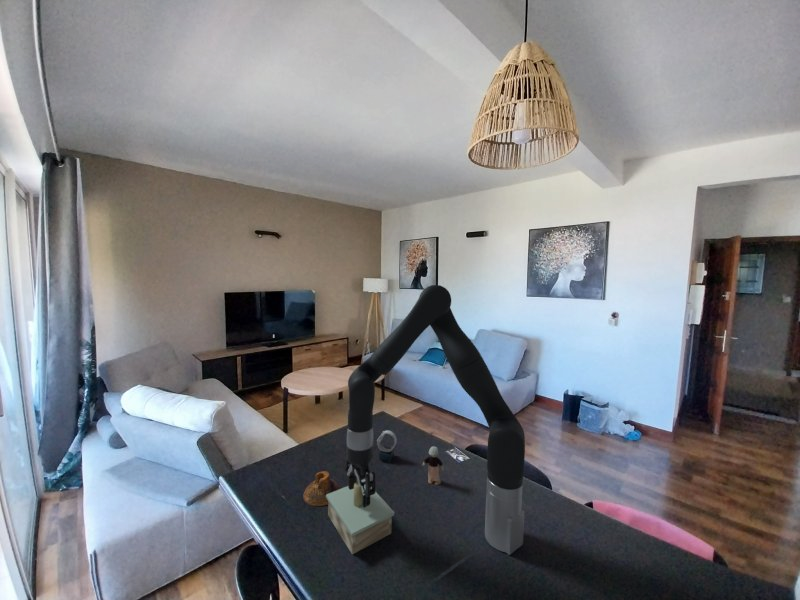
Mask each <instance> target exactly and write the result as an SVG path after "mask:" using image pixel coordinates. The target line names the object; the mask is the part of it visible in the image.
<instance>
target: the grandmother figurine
mask: <svg viewBox="0 0 800 600" xmlns="http://www.w3.org/2000/svg"><path fill="white" fill-rule="evenodd" d="M428 454H429V455H430V456H427V457H426V458H424V460H423V462H422V465H421V466H423V467H425V466H426V465H427V464H428V466H427V467H428V468H427V469H428V472H427V473H428V475H427V477H428V480H427V482H428V484H430V485H433V484H434V486H435V485H436V486H439V485H440V484H441V483H442V482H441V479H440V470H441V471H442V472H443V471H445V467H444V464H443V462H442V460H441V459H440V458H439V457H438V455H439V449H438V447H437V446H431V447H430V448H429V450H428Z"/></svg>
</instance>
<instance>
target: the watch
mask: <svg viewBox="0 0 800 600" xmlns="http://www.w3.org/2000/svg"><path fill="white" fill-rule="evenodd" d="M386 435H389V436H391V437H392V438H393V440H394V442H393V444H392V446H391V447H389V446H383V445H382V444H381V442H382V440H383V439H384V438H385V436H386ZM376 442H377V443H376V445H377V447H378V449H379V450H380V451H379V453H378V454H379V455H378V456H379V457H378V460H379V461H381V462H383V463H385V464H390V463H391V462H392V459H394V455H395V447H396V445H397V443H398V438H397V435H396V434H395V432H394V431H391V430H388V429H386V430H383V431H382V432H381V433H380V435H379V437H378V438H377V440H376Z"/></svg>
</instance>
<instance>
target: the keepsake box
mask: <svg viewBox="0 0 800 600" xmlns="http://www.w3.org/2000/svg"><path fill="white" fill-rule="evenodd" d="M327 516H328V517H329V519H330V521H331V523H332V524H333V525H334V527H335V528H336V531H337V532H338V534H339V536H340V537H341V539H342V540H343V542H344V543H345V546H347V548H348V550H349V552H350V553H351V555H354V554H356V553H358V552H360V551H361V550H363V549H365V548H367V547H369V546H371V545H373V544H374V543H377V542H378V541H380V540H382V539H384V538H385V537H387V536H389V535H391V534H392V524H393V523H392V519H393V516H391V517H389V518H387V519H386V520H384V521H382V522H380V523H378V524H376V525H374V526H372V527H370V528H368V529H366V530H364V531H362V532H360V533H358V534H356V535H354V536H351V535H350V533H349V532H348V530H347V529H346V527H345V526H344V524H343V523H342V521H341V520H340V518H339V516H338V515H337V513H336V512H335V510H334V509H333V507H332V506H331V504H330V503H329V501H328V505H327Z"/></svg>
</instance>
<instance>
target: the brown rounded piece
mask: <svg viewBox="0 0 800 600" xmlns="http://www.w3.org/2000/svg"><path fill="white" fill-rule="evenodd" d="M314 478H315V479H314V480H313V481H311V482H310V483H309V484H308V485H307V487H306V488H305V489H304V492H303V495H302V498H303V501H304V503H306V504H307V505H309V506H311V507H323V506H326V505H327V506H328V500H327V498H326V495H327V494H329V493H332V492H334V491H337V490H339V489H341V487H340V485H339V484H338V482H336V481H335V480H334V479H332V478H331V477H330V473H329V472H328V471H326V470H325V471H319V472H317V473H316V474H315V476H314Z"/></svg>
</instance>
